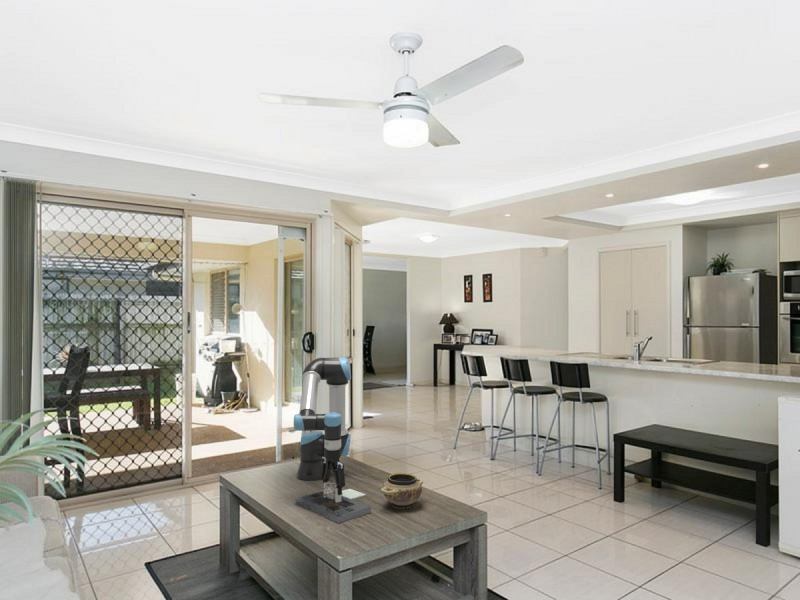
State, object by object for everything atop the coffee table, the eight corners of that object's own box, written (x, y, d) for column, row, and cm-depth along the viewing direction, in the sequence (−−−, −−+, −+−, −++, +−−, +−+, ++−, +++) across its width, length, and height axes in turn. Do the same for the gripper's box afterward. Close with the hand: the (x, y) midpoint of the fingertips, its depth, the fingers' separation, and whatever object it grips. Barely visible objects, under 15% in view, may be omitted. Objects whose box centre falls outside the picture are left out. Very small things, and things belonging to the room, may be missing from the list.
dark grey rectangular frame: (295, 504, 247) (295, 498, 247) (327, 495, 260) (327, 489, 260) (338, 523, 224) (338, 517, 224) (371, 512, 237) (371, 506, 237)
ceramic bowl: (390, 522, 232) (396, 490, 230) (366, 501, 245) (371, 471, 243) (431, 509, 248) (437, 479, 246) (406, 490, 262) (411, 462, 259)
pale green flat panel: (330, 495, 260) (330, 494, 260) (350, 489, 268) (350, 488, 268) (345, 501, 251) (345, 500, 251) (365, 495, 259) (365, 494, 259)
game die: (337, 507, 243) (349, 491, 242) (323, 505, 237) (336, 488, 236) (329, 493, 249) (341, 477, 248) (315, 490, 244) (328, 474, 242)
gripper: (312, 445, 248) (312, 495, 247) (340, 454, 233) (340, 507, 232) (325, 442, 253) (325, 491, 253) (353, 451, 238) (353, 503, 238)
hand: (332, 499), depth 242 cm, fingers closed on game die, 8 cm apart
